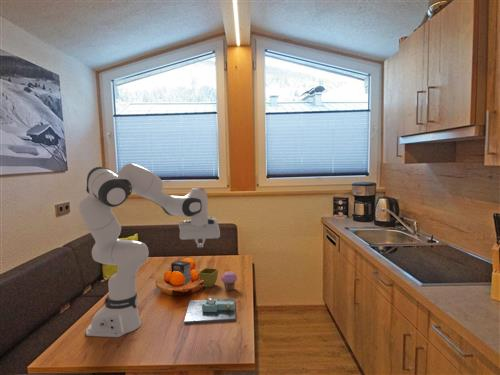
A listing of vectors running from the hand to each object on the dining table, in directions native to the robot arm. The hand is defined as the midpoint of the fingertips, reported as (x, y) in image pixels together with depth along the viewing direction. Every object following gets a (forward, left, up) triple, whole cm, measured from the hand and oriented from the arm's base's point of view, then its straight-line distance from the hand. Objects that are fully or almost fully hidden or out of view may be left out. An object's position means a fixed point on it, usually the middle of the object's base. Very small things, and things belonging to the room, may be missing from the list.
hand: (200, 247), depth 164 cm
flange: (+9, -11, -28) cm, 31 cm away
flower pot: (+2, +23, -29) cm, 37 cm away
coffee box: (-13, +18, -29) cm, 37 cm away
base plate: (+5, -10, -29) cm, 31 cm away
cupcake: (+14, +16, -29) cm, 36 cm away
